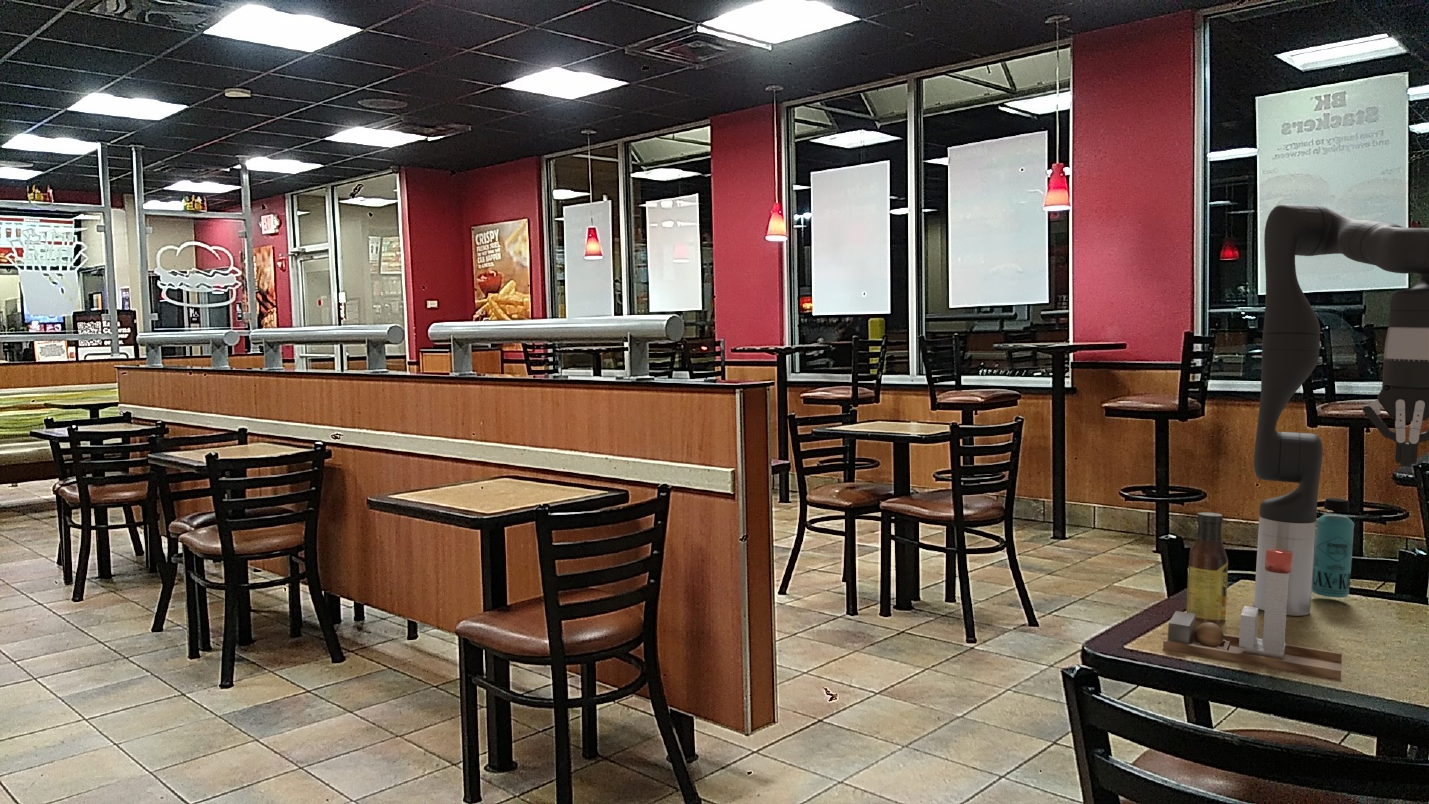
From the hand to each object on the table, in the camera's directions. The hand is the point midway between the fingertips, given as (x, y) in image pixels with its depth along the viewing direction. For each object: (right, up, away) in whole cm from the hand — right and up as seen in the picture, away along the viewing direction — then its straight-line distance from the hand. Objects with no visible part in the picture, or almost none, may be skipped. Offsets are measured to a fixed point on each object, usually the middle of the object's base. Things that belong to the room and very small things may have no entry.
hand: (1404, 466), depth 159 cm
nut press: (-25, -31, -1) cm, 40 cm away
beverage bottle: (+10, -29, +35) cm, 46 cm away
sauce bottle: (-23, -29, +18) cm, 41 cm away
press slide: (-24, -29, -2) cm, 38 cm away
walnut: (-30, -29, +2) cm, 42 cm away
